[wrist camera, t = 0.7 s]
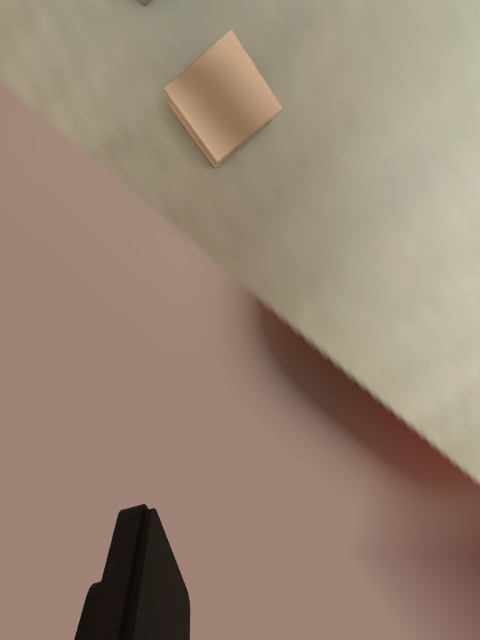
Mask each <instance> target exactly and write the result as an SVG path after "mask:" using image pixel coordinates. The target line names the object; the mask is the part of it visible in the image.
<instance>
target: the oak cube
mask: <svg viewBox="0 0 480 640" xmlns="http://www.w3.org/2000/svg"><path fill="white" fill-rule="evenodd" d="M164 91H165V94H166V97H167V101H168V104H169V107H170V108H171V110H172V111H173V112H174V114H175V115H176V117H177V118H178V119H179V121H180V122H181V123H182V125H183V126H184V127H185V129H186V130H187V131H188V133H189V134H190V135H191V137H192V138H193V139H194V141H195V142H196V144H197V145H198V146H199V148H200V149H201V150H202V152H203V153H204V154H205V156H206V157H207V158H208V160H209V161H210V162H211V164H212V165H213V166H214V168H215V167H216V166H218V165H219V164H220V163H221V162H222V161H224V160H225V159H226V158H227V157H229V156H230V155H231V154H232V153H233V152H235V151H236V150H237V149H238V148H239V147H241V146H242V145H243V144H244V143H245V142H247V141H248V140H249V139H250V138H251V137H253V136H254V135H255V134H256V133H257V132H259V131H260V130H261V129H262V128H264V127H265V126H266V125H267V124H268V123H269V122H270V121H271V120H272V119H273V118H274V117H275V116H276V115H277V114H278V113H279V112H280V111H281V109H282V108H283V107H282V106H281V104H280V103H279V101H278V100H277V98H276V97H275V95H274V94H273V92H272V90H271V89H270V87H269V86H268V84H267V83H266V81H265V80H264V78H263V77H262V75H261V74H260V72H259V71H258V69H257V68H256V66H255V64H254V63H253V61H252V60H251V58H250V57H249V55H248V54H247V52H246V51H245V49H244V48H243V46H242V45H241V43H240V41H239V40H238V38H237V37H236V35H235V34H234V32H233V31H232V30H230V31H229V32H228V33H227V34H226V35H225V36H224V37H222V38H221V39H220V40H219V41H218V42H217V43H215V44H214V45H213V46H212V47H211V48H210V49H209V50H207V51H206V52H205V53H204V54H203V55H202V56H200V57H199V58H198V59H197V60H196V61H195V62H194V63H192V64H191V65H190V66H189V67H188V68H187V69H185V70H184V71H183V72H182V73H181V74H180V75H179V76H177V77H176V78H175V79H174V80H173V81H172V82H170V83H169V84H168V85H167V86H166V87H165V88H164Z"/></svg>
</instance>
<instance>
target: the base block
mask: <svg viewBox="0 0 480 640" xmlns="http://www.w3.org/2000/svg"><path fill="white" fill-rule="evenodd" d="M140 1H141V3H142V4H143V6H145V5H146V4H147V3H148V2H149V1H150V0H140Z"/></svg>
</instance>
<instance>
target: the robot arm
mask: <svg viewBox="0 0 480 640" xmlns="http://www.w3.org/2000/svg"><path fill="white" fill-rule="evenodd" d="M74 640H190V601H189V596H188V591H187V588H186V586H185V583H184V581H183V578H182V575H181V573H180V570H179V568H178V565H177V562H176V560H175V557H174V555H173V552H172V549H171V547H170V544H169V542H168V539H167V537H166V534H165V531H164V529H163V526H162V524H161V521H160V518H159V516H158V513H157V511H156V509H155V508H153V509H148V507H147V506H146V505H145V504H142V505H139V506H135V507H131V508H128V509H124V510H121V511H120V512H119V514H118V517H117V521H116V525H115V529H114V533H113V537H112V541H111V545H110V549H109V553H108V557H107V561H106V565H105V569H104V573H103V577H102V581H101V582H98V583H94V584H93V585H92V586H91V587H90V588H89V591H88V594H87V596H86V600H85V603H84V607H83V611H82V614H81V618H80V621H79V625H78V628H77V632H76V636H75V639H74Z"/></svg>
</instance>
